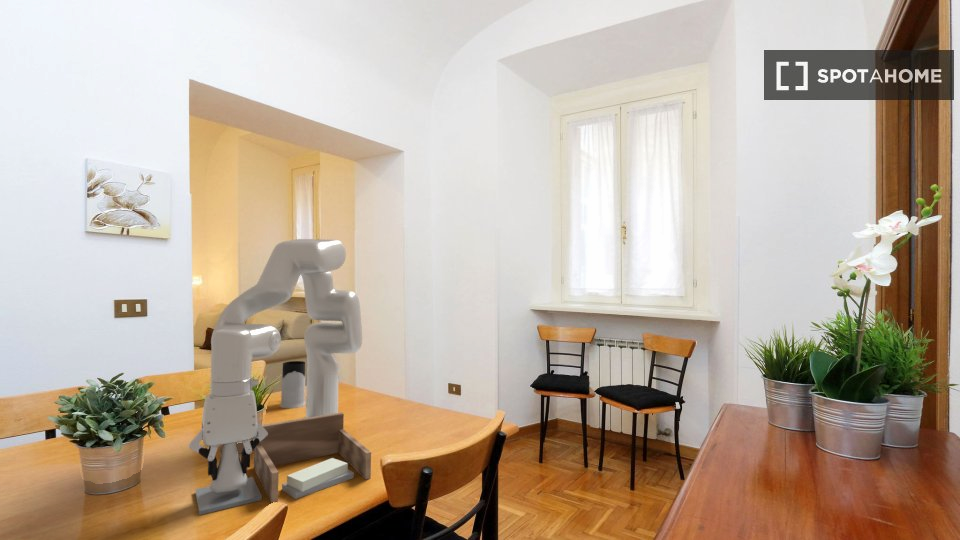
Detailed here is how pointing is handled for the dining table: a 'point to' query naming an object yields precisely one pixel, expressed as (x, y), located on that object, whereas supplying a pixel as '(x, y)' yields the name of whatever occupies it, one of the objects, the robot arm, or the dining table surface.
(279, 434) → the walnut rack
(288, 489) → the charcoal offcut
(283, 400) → the glass holder
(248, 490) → the slate coaster
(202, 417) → the robot arm
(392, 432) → the dining table surface
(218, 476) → the flask
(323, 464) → the sage offcut
